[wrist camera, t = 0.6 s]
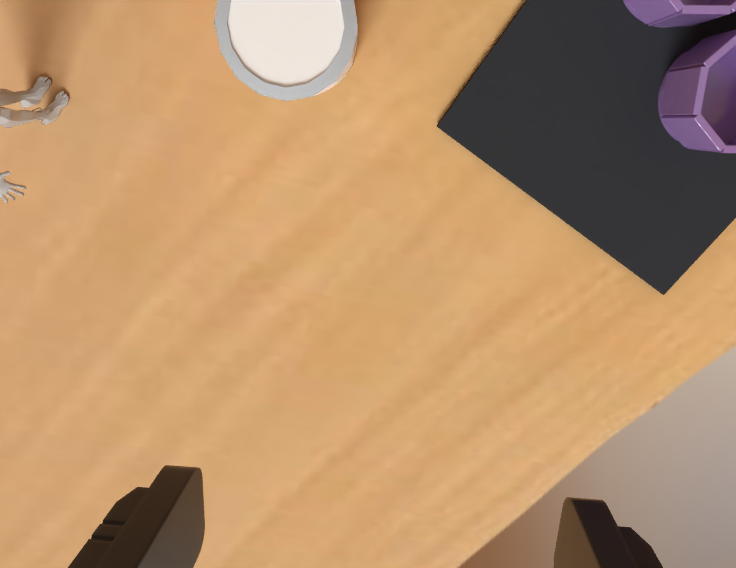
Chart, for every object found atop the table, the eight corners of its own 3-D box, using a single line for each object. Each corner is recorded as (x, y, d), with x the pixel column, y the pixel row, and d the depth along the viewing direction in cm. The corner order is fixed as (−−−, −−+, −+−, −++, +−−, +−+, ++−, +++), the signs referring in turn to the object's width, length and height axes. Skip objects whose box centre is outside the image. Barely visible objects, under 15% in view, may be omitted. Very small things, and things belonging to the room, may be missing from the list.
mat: (795, -378, 26) (801, -386, 26) (1054, -131, 28) (1062, -134, 28) (436, 126, 34) (437, 126, 34) (661, 293, 36) (664, 295, 36)
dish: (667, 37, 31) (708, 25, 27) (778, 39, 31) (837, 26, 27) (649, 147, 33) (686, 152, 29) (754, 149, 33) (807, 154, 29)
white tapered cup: (386, 10, 32) (381, -17, 26) (339, 123, 34) (322, 124, 28) (277, -44, 32) (243, -86, 25) (235, 74, 34) (193, 63, 27)
